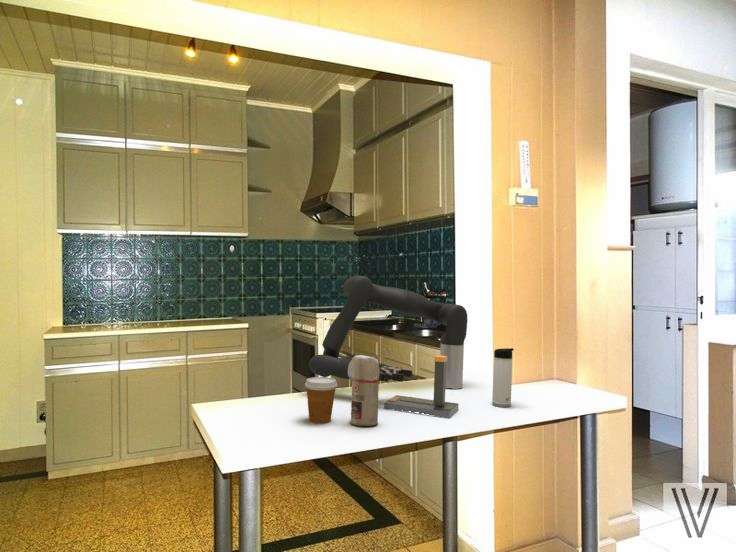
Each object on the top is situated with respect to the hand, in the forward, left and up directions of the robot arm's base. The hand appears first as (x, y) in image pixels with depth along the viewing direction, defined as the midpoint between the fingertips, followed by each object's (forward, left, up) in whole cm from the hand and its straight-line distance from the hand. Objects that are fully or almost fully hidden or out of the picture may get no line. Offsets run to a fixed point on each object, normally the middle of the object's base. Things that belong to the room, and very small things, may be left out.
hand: (407, 375), depth 165 cm
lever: (+9, +7, -8) cm, 14 cm away
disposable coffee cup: (+5, -33, -11) cm, 35 cm away
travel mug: (+9, +33, -11) cm, 36 cm away
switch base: (+4, +3, -10) cm, 12 cm away
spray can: (+12, -22, -11) cm, 27 cm away
